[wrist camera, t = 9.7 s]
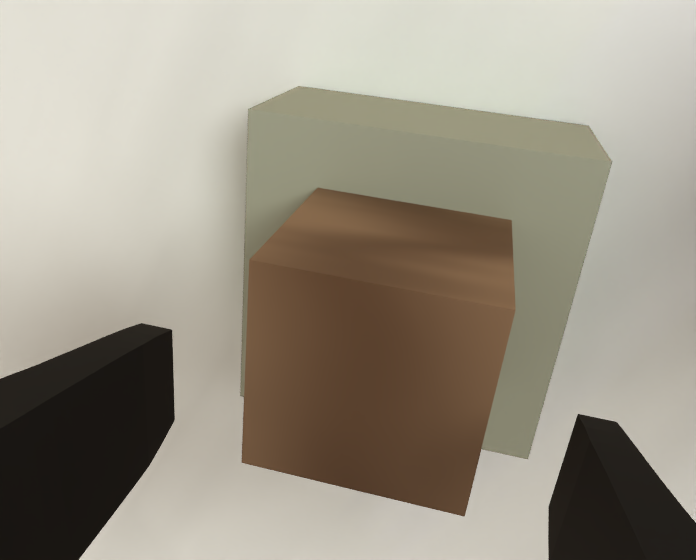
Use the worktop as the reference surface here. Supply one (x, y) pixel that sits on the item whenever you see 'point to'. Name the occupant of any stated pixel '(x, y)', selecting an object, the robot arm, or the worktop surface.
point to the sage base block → (445, 205)
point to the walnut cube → (377, 346)
